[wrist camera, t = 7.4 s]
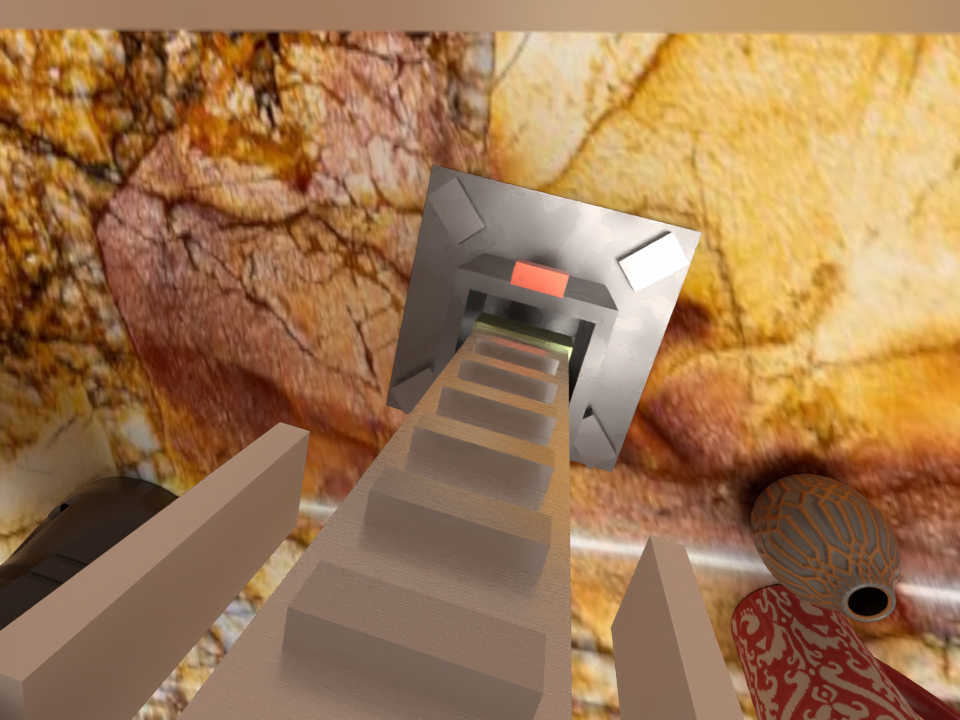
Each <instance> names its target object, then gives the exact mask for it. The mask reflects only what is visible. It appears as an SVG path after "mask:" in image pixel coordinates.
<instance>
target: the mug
mask: <svg viewBox="0 0 960 720" xmlns="http://www.w3.org/2000/svg"><path fill="white" fill-rule="evenodd" d="M731 629H732V635H733V639H734V642H735V645H736V648H737V652H738V655H739V658H740V661H741V664H742V667H743V671H744V674H745V678H746V682H747V686H748V689H749V691H750V694H751V699H752V702H753V705H754V708H755V712H756V715H757V718H758V720H920V719H919V718H918V716H917V715H916V714H918V715H919V716H920V717H922V718H923V719H924V720H960V714H959V713H958V712H956V711H955V710H953V709H952V708H951V707H949V706H948V705H947V704H945V703H944V702H942V701H941V700H940V699H938V698H937V697H935V696H934V695H932V694H931V693H930V692H928V691H927V690H925V689H924V688H922V687H921V686H919V685H918V684H916V683H915V682H913V681H912V680H910V679H909V678H907V677H906V676H904V675H903V674H901V673H899V672H898V671H896V670H895V669H893V668H891V667H890V666H889V665H887V664H885V663H883V662H882V661H880V660H878V659H876V658H875V657H873V655H872V654H871V653H870V651H869V650H868V649H867V647H866V646H865V645H864V643H863V642H862V641H861V639H860V638H859V637H858V635H857V634H856V633H855V631H854V630H853V629H852V627H851V626H850V624H849V623H848V621H847V620H846V619H845V617H844V616H843V614H842V613H841V612H838V611H834V610H829V609H825V608H822V607H819V606H816V605H813V604H811V603H809V602H807V601H805V600H803V599H801V598H799V597H798V596H796V595H795V594H793V593H792V592H791V591H789V590H788V589H787V588H786V587H785V586H783V585H776V586H771V587H767V588H763V589H761V590H758V591H756V592H754V593H752V594H751V595H749V596H748V597H747V598H745V599H744V600H743V601H742V602H741V603H740V604H739V606H738V607H737V609H736V610H735V612H734V615H733V617H732V624H731Z"/></svg>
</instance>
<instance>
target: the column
mask: <svg viewBox="0 0 960 720" xmlns="http://www.w3.org/2000/svg"><path fill="white" fill-rule="evenodd" d="M572 349H573V341H572V336H568V335H565V334H561V333H557V332H554V331H550V330H547V329H543V328H539V327H536V326H532V325H528V324H525V323H521V322H518V321H514V320H510V319H507V318H503V317H499V316H496V315H492V314H488V313H485V312H482V313H481V314H480V315H479V316H478V318H477V319H476V320H475V322H474V326H473V331H472V333H471V334H470V336H469V337H468V338H467V340H466V341H465V342H464V343H463V345H462V346H461V347H460V349H459V350H458V351H457V353H456V354H455V355H454V357H453V358H452V359H451V360H450V362H449V363H448V364H447V366H446V367H445V368H444V370H443V371H442V372H441V374H440V375H439V376H438V378H437V379H436V380H435V381H434V383H433V384H432V385H431V387H430V388H429V389H428V391H427V392H426V393H425V395H424V396H423V397H422V398H421V400H420V401H419V402H418V404H417V405H416V406H415V408H414V409H413V410H412V412H411V413H410V414H409V416H408V417H407V418H406V419H405V421H404V422H403V423H402V425H401V426H400V427H399V429H398V430H397V431H396V433H395V434H394V435H393V436H392V438H391V439H390V440H389V442H388V443H387V444H386V446H385V447H384V448H383V450H382V451H381V452H380V454H379V455H378V456H377V457H376V459H375V460H374V461H373V463H372V464H371V465H370V467H369V468H368V469H367V471H366V472H365V473H364V474H363V476H362V477H361V478H360V480H359V481H358V482H357V484H356V485H355V486H354V488H353V489H352V490H351V492H350V493H349V494H348V495H347V497H346V498H345V499H344V501H343V502H342V503H341V505H340V506H339V507H338V509H337V510H336V511H335V513H334V514H333V515H332V516H331V518H330V519H329V520H328V522H327V523H326V524H325V526H324V527H323V528H322V530H321V531H320V532H319V533H318V535H317V536H316V537H315V539H314V540H313V541H312V543H311V544H310V545H309V547H308V548H307V549H306V551H305V552H304V553H303V554H302V556H301V557H300V558H299V560H298V561H297V562H296V564H295V565H294V566H293V568H292V569H291V570H290V571H289V573H288V574H287V575H286V577H285V578H284V579H283V581H282V582H281V583H280V585H279V586H278V587H277V589H276V590H275V591H274V592H273V594H272V595H271V596H270V598H269V599H268V600H267V602H266V603H265V604H264V606H263V607H262V608H261V609H260V611H259V612H258V613H257V615H256V616H255V617H254V619H253V620H252V621H251V623H250V624H249V625H248V627H247V628H246V629H245V630H244V632H243V633H242V634H241V636H240V637H239V638H238V640H237V641H236V642H235V644H234V645H233V646H232V647H231V649H230V650H229V651H228V653H227V654H226V655H225V657H224V658H223V659H222V661H221V662H220V663H219V665H218V666H217V667H216V668H215V670H214V671H213V672H212V674H211V675H210V676H209V678H208V679H207V680H206V682H205V683H204V684H203V686H202V687H201V688H200V689H199V691H198V692H197V693H196V695H195V696H194V697H193V699H192V700H191V701H190V703H189V704H188V705H187V706H186V708H185V709H184V710H183V712H182V713H181V714H180V716H179V717H178V718H177V720H572V693H571V586H570V478H569V371H568V362H569V359H570V355H571V352H572Z"/></svg>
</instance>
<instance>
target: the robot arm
mask: <svg viewBox="0 0 960 720" xmlns="http://www.w3.org/2000/svg"><path fill="white" fill-rule="evenodd" d="M309 433H310V431H307V430H304V429H301V428H297V427H294V426H291V425H288V424H284V423H281V422H280V423H278V424H277V425H275V426H274V427H273V428H271V429H270V430H269V431H267V432H266V433H265V434H263V435H262V436H261V437H259V438H258V439H257V440H255V441H254V442H253V443H251V444H250V445H249V446H247V447H246V448H245V449H243V450H242V451H241V452H239V453H238V454H237V455H235V456H234V457H233V458H231V459H230V460H229V461H227V462H226V463H225V464H223V465H222V466H221V467H219V468H218V469H217V470H215V471H214V472H213V473H211V474H210V475H209V476H207V477H206V478H205V479H203V480H202V481H201V482H199V483H198V484H196V485H195V486H194V487H192V488H191V489H190V490H188V491H187V492H186V493H184V494H183V495H182V496H180V497H179V498H178V499H177V498H176V497H174V496H173V495H171V494H170V493H168V492H166V491H164V490H163V489H161V488H159V487H157V486H154V485H152V484H149V483H147V482H143V481H140V480H136V479H130V478H107V479H102V480H99V481H96V482H93V483H91V484H89V485H88V486H86V487H84V488H83V489H81V490H79V491H77V492H76V493H74V494H72V495H71V496H69V497H67V498H66V499H65V500H63V501H62V502H61V503H59V504H58V505H57V506H56V507H55V508H54V509H53V510H52V512H51V513H50V514H49V515H48V517H47V518H46V519H45V520H44V521H43V522H42V523H41V524H40V525H39V526H38V527H37V528H36V529H35V530H34V531H33V532H32V533H31V534H30V535H29V536H28V538H27V539H26V540H25V541H24V542H23V543H22V544H21V545H20V546H19V547H18V548H17V549H16V551H15V552H14V553H13V554H12V555H11V556H10V557H9V558H8V559H7V560H6V561H5V562H4V563H3V564H2V565H0V720H131V719H132V718H133V717H134V716H135V715H136V714H137V712H138V711H139V710H140V709H141V708H142V707H143V705H144V704H145V703H146V702H147V701H148V699H149V698H150V697H151V696H152V695H153V694H154V692H155V691H156V690H157V689H158V688H159V687H160V685H161V684H162V683H163V682H164V681H165V679H166V678H167V677H168V676H169V675H170V674H171V672H172V671H173V670H174V669H175V668H176V667H177V665H178V664H179V663H180V662H181V661H182V660H183V658H184V657H185V656H186V655H187V654H188V652H189V651H190V650H191V649H192V648H193V647H194V645H195V644H196V643H197V642H198V641H199V640H200V638H201V637H202V636H203V635H204V634H205V632H206V631H207V630H208V629H209V628H210V627H211V625H212V624H213V623H214V622H215V621H216V620H217V618H218V617H219V616H220V615H221V614H222V613H223V611H224V610H225V609H226V608H227V607H228V605H229V604H230V603H231V602H232V601H233V600H234V598H235V597H236V596H237V595H238V594H239V593H240V591H241V590H242V589H243V588H244V587H245V585H246V584H247V583H248V582H249V581H250V580H251V578H252V577H253V576H254V575H255V574H256V573H257V571H258V570H259V569H260V568H261V567H262V566H263V564H264V563H265V562H266V561H267V560H268V558H269V557H270V556H271V555H272V554H273V553H274V551H275V550H276V549H277V548H278V547H279V546H280V544H281V543H282V542H283V541H284V540H285V538H286V537H287V536H288V535H289V534H290V533H291V531H292V530H293V529H294V528H295V527H296V525H297V518H298V511H299V504H300V497H301V490H302V483H303V476H304V469H305V462H306V455H307V448H308V441H309ZM611 631H612V640H613V650H614V659H615V669H616V678H617V688H618V697H619V707H620V716H621V720H745V719H744V717H743V714H742V711H741V708H740V705H739V702H738V699H737V696H736V694H735V691H734V688H733V685H732V682H731V679H730V676H729V673H728V670H727V668H726V665H725V662H724V659H723V656H722V653H721V650H720V647H719V645H718V642H717V639H716V636H715V633H714V630H713V627H712V624H711V621H710V619H709V616H708V613H707V610H706V607H705V604H704V601H703V598H702V596H701V593H700V590H699V587H698V584H697V581H696V578H695V575H694V572H693V570H692V567H691V564H690V561H689V558H688V555H687V552H686V549H685V547H684V545H681V544H677V543H674V542H671V541H667V540H664V539H661V538H658V537H654V536H651V535H650V537H649V539H648V541H647V544H646V546H645V549H644V551H643V553H642V556H641V558H640V560H639V563H638V565H637V567H636V570H635V572H634V575H633V577H632V579H631V582H630V584H629V586H628V589H627V591H626V593H625V596H624V598H623V600H622V603H621V605H620V608H619V610H618V612H617V615H616V617H615V619H614V622H613V624H612V626H611Z"/></svg>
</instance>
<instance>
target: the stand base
mask: <svg viewBox="0 0 960 720" xmlns="http://www.w3.org/2000/svg"><path fill="white" fill-rule="evenodd" d="M701 234H702V232H698V231H694V230H690V229H686V228H682V227H678V226H674V225H670V224H666V223H662V222H658V221H654V220H650V219H646V218H642V217H638V216H634V215H630V214H626V213H622V212H618V211H614V210H610V209H606V208H602V207H598V206H594V205H590V204H586V203H582V202H579V201H575V200H571V199H567V198H563V197H559V196H555V195H551V194H547V193H543V192H539V191H535V190H531V189H527V188H523V187H519V186H515V185H511V184H507V183H503V182H499V181H495V180H491V179H487V178H483V177H479V176H475V175H471V174H467V173H463V172H459V171H455V170H451V169H447V168H443V167H439V166H435V165H433V166H432V171H431V176H430V181H429V187H428V192H427V197H426V202H425V207H424V212H423V218H422V223H421V228H420V233H419V238H418V243H417V248H416V254H415V259H414V264H413V269H412V274H411V279H410V285H409V290H408V295H407V300H406V305H405V310H404V316H403V321H402V326H401V331H400V336H399V341H398V347H397V352H396V357H395V362H394V367H393V372H392V377H391V383H390V388H389V393H388V398H387V403H386V405H387V406H390V407H394V408H397V409H401V410H403V411H404V412H405V414H408V413H410V412H412V410H413V409H414V408H415V406H416V405H417V404H418V402H419V401H420V400H421V398H422V397H423V396H424V395H425V393H426V392H427V391H428V389H429V388H430V387H431V385H432V384H433V383H434V381H435V380H436V379H437V378H438V376H439V375H440V374H441V372H442V371H443V370H444V368H445V367H446V366H447V364H448V363H449V362H450V360H451V359H452V358H453V357H454V355H455V354H456V353H457V351H458V350H459V349H460V347H461V346H462V345H463V343H464V342H465V341H466V340H467V338H468V337H469V336H470V334H471V333H472V331H473V326H474V322H475V320H476V319H477V318H478V316H479V315H480V314H481V313H482V312H485V313H488V314H492V315H496V316H499V317H503V318H507V319H510V320H514V321H518V322H521V323H525V324H528V325H532V326H536V327H539V328H543V329H547V330H550V331H554V332H557V333H561V334H565V335H568V336H572V341H573V349H572V352H571V355H570V359H569V362H568V371H569V460H572V461H576V462H579V463H583V464H586V465H587V467H588V469H589V468H591V467H596V468H599V469H603V470H606V471H610V472H612V471H613V469H614V466H615V463H616V461H617V458H618V455H619V453H620V450H621V447H622V445H623V442H624V439H625V437H626V434H627V431H628V429H629V426H630V423H631V421H632V418H633V415H634V413H635V410H636V407H637V405H638V402H639V399H640V396H641V394H642V391H643V388H644V386H645V383H646V380H647V378H648V375H649V372H650V370H651V367H652V364H653V362H654V359H655V356H656V354H657V351H658V348H659V346H660V343H661V340H662V338H663V335H664V332H665V330H666V327H667V324H668V322H669V319H670V316H671V314H672V311H673V308H674V306H675V303H676V300H677V298H678V295H679V292H680V290H681V287H682V284H683V282H684V279H685V276H686V274H687V271H688V268H689V266H690V263H691V260H692V258H693V255H694V252H695V250H696V247H697V244H698V242H699V239H700V236H701Z"/></svg>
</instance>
